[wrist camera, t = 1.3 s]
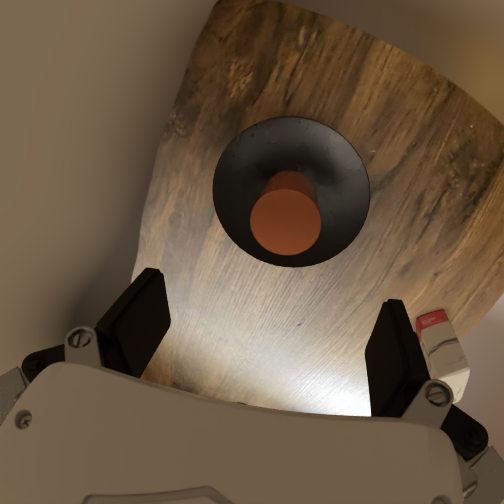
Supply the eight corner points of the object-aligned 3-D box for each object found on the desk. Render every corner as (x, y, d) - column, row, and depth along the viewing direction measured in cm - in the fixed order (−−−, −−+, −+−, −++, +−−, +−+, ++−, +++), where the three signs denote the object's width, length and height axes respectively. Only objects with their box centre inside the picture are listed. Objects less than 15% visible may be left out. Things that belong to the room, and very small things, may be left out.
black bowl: (232, 112, 28) (212, 113, 22) (364, 124, 26) (380, 128, 20) (230, 230, 35) (213, 258, 29) (346, 243, 33) (354, 275, 27)
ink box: (415, 316, 36) (437, 379, 25) (444, 307, 34) (471, 367, 24) (415, 353, 39) (430, 412, 29) (441, 346, 37) (460, 402, 27)
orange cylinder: (264, 167, 23) (251, 185, 18) (321, 173, 23) (325, 193, 18) (261, 220, 26) (248, 251, 21) (315, 226, 25) (316, 259, 20)
